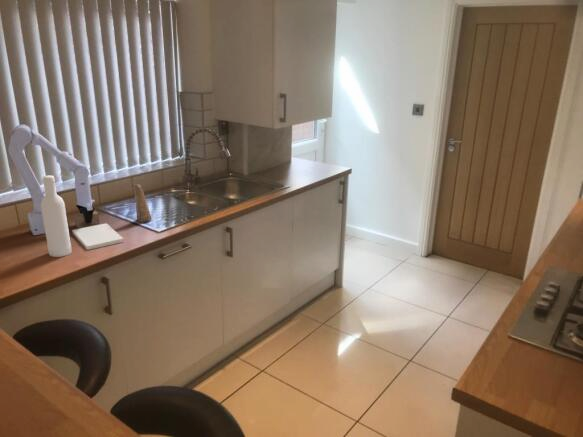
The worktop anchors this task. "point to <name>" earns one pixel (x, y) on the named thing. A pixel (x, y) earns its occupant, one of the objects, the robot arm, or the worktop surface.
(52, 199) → the bottle
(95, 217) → the walnut block
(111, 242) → the cutting board
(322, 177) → the worktop surface
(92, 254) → the worktop surface
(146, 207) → the tan tapered horn
